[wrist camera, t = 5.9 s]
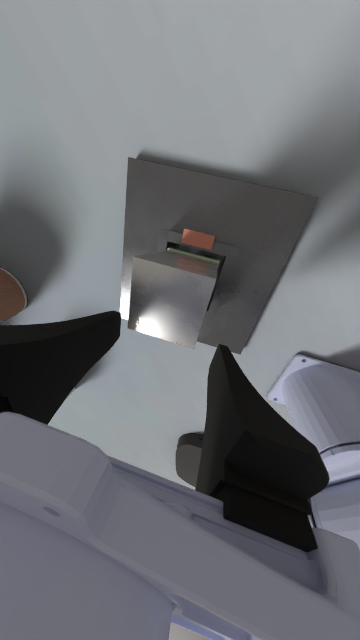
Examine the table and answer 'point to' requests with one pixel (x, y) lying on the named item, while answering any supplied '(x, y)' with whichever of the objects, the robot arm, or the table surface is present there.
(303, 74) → the table surface
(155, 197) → the stand
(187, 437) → the media streaming box
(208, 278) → the column
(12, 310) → the coffee cup
